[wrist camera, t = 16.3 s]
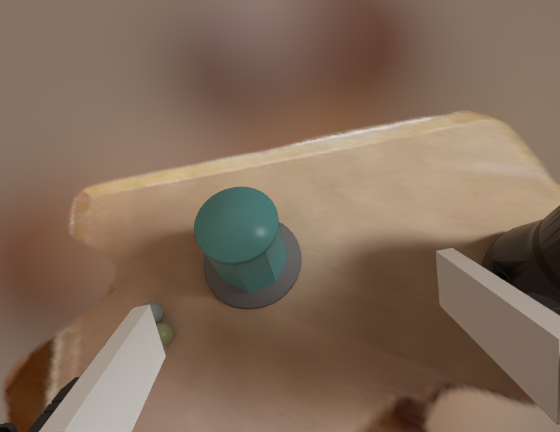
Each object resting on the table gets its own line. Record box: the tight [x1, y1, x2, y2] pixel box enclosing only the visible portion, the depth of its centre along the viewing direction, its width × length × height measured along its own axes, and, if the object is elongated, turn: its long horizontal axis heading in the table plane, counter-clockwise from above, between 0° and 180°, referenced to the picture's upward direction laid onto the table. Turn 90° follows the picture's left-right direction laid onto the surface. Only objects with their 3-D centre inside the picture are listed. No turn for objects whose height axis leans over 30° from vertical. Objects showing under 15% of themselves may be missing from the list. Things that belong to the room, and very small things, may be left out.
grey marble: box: [143, 302, 163, 324], centre depth 45 cm, size 3×3×3 cm
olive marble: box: [156, 323, 173, 347], centre depth 43 cm, size 3×3×3 cm
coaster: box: [204, 222, 301, 309], centre depth 49 cm, size 14×14×1 cm
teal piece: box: [194, 187, 287, 293], centre depth 44 cm, size 10×10×11 cm
